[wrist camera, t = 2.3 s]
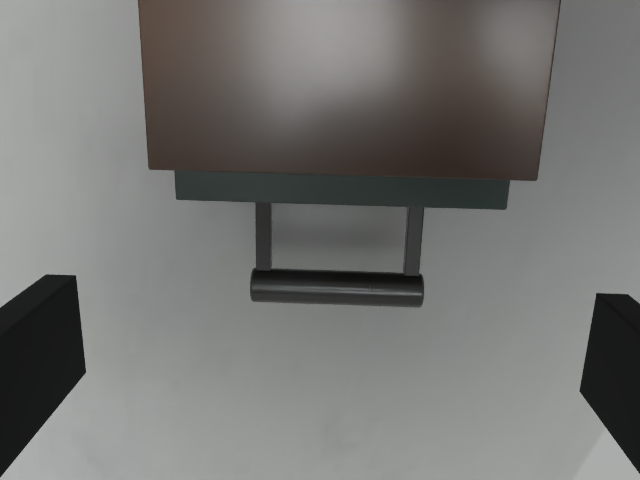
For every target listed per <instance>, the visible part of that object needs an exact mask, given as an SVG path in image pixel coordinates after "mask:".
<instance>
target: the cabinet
mask: <svg viewBox="0 0 640 480" xmlns="http://www.w3.org/2000/svg"><path fill="white" fill-rule="evenodd" d="M560 4H561V0H138V8H139V24H140V40H141V56H142V72H143V87H144V103H145V119H146V135H147V151H148V167H149V169H150V170H177V171H212V172H246V173H281V174H315V175H350V176H384V177H419V178H453V179H488V180H522V181H536V180H537V177H538V170H539V162H540V155H541V147H542V140H543V132H544V125H545V117H546V109H547V102H548V94H549V87H550V79H551V72H552V64H553V57H554V49H555V42H556V34H557V27H558V19H559V12H560Z"/></svg>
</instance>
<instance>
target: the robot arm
mask: <svg viewBox="0 0 640 480" xmlns="http://www.w3.org/2000/svg"><path fill="white" fill-rule="evenodd" d="M85 373H86V368H85V358H84V349H83V339H82V329H81V320H80V310H79V300H78V291H77V281H76V276H75V275H45V276H43V277H42V278H41V279H39V280H38V281H36V282H35V283H34V284H32V285H31V286H30V287H28V288H27V289H25V290H24V291H23V292H21V293H20V294H19V295H17V296H16V297H14V298H13V299H12V300H10V301H9V302H8V303H6V304H5V305H3V306H2V307H1V308H0V477H1V476H2V475H3V473H4V472H5V471H6V470H7V468H8V467H9V466H10V465H11V464H12V462H13V461H14V460H15V459H16V457H17V456H18V455H19V454H20V453H21V451H22V450H23V449H24V448H25V446H26V445H27V444H28V443H29V442H30V440H31V439H32V438H33V437H34V435H35V434H36V433H37V432H38V431H39V429H40V428H41V427H42V426H43V424H44V423H45V422H46V421H47V419H48V418H49V417H50V416H51V415H52V413H53V412H54V411H55V410H56V408H57V407H58V406H59V405H60V404H61V402H62V401H63V400H64V399H65V397H66V396H67V395H68V394H69V393H70V391H71V390H72V389H73V388H74V386H75V385H76V384H77V383H78V381H79V380H80V379H81V378H82V377H83V375H84V374H85ZM580 392H581V394H582V395H583V397H584V398H585V399H586V401H587V402H588V403H589V405H590V406H591V408H592V409H593V410H594V412H595V413H596V414H597V416H598V417H599V418H600V420H601V421H602V423H603V424H604V425H605V427H606V428H607V429H608V431H609V432H610V434H611V435H612V436H613V438H614V439H615V440H616V442H617V443H618V445H619V446H620V447H621V449H622V450H623V451H624V453H625V454H626V456H627V457H628V458H629V460H630V461H631V462H632V464H633V465H634V467H635V468H636V469H637V471H638V472H639V473H640V304H639V303H638V302H637V301H635V300H634V299H633V298H632V297H630V296H629V295H628V294H601V293H597V294H596V300H595V306H594V311H593V317H592V323H591V329H590V334H589V340H588V346H587V352H586V357H585V363H584V369H583V375H582V380H581V386H580Z"/></svg>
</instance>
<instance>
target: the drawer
mask: <svg viewBox="0 0 640 480" xmlns="http://www.w3.org/2000/svg"><path fill="white" fill-rule="evenodd" d="M509 184H510V180H488V179H453V178H419V177H384V176H350V175H315V174H281V173H246V172H212V171H177V170H175V190H176V199H177V200H198V201H231V202H256V268H254V269H253V270H252V273H251V281H250V296H251V300H252V301H253V302H276V303H304V304H333V305H362V306H391V307H421V306H422V304H423V299H424V279H423V276H422V274H420V273H419V269H420V256H421V243H422V230H423V217H424V207H429V208H462V209H495V210H505V209H506V208H507V201H508V192H509ZM272 203H297V204H330V205H363V206H396V207H407V218H406V232H405V247H404V262H403V273H394V272H364V271H334V270H304V269H274V268H272Z"/></svg>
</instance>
